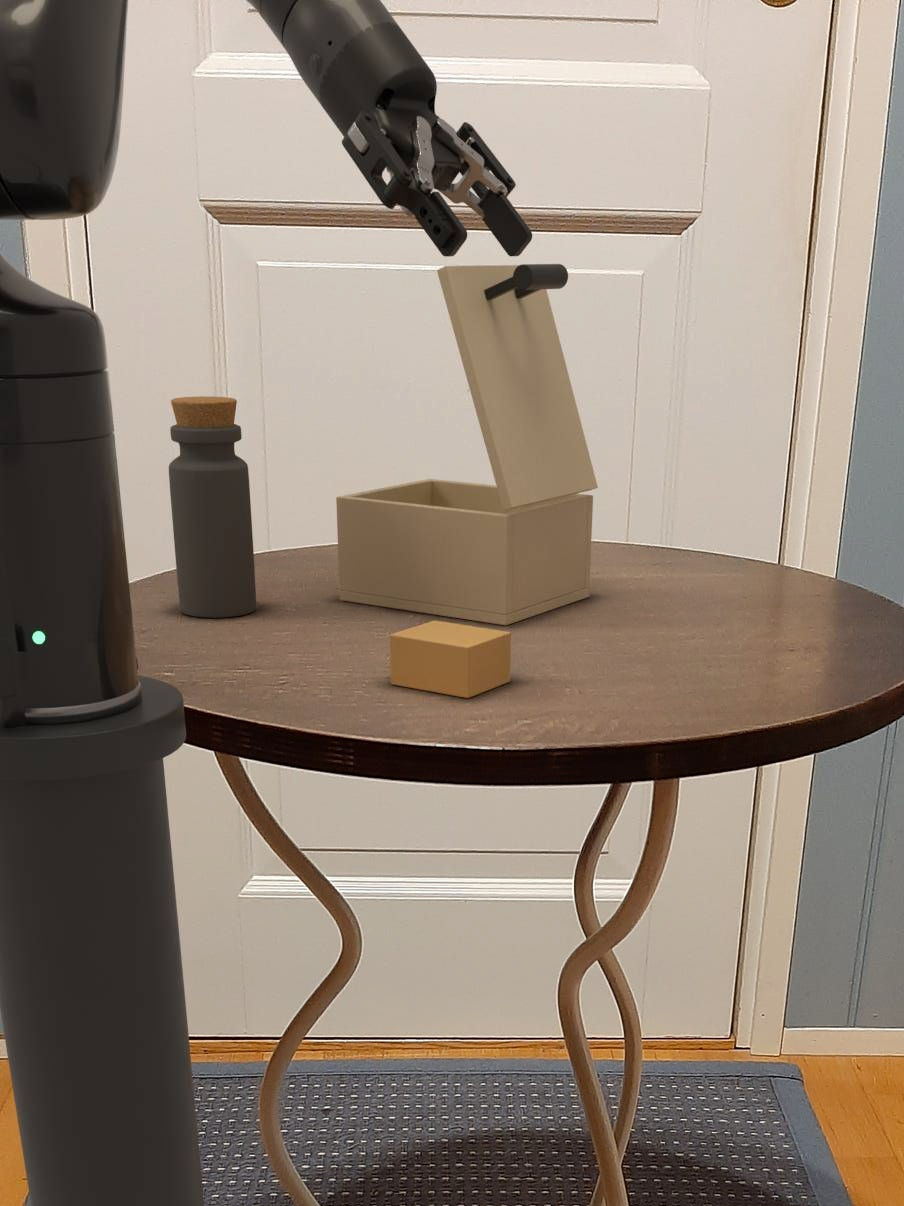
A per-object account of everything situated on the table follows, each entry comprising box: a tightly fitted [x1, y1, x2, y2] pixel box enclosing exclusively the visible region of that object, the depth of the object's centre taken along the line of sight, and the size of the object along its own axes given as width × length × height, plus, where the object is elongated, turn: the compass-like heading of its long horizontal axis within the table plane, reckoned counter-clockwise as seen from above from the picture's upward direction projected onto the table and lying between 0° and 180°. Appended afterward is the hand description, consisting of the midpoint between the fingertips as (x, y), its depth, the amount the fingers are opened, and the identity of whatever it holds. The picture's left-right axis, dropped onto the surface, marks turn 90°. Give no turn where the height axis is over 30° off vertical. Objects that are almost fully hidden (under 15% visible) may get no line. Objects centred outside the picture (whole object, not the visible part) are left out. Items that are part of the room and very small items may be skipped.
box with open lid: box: [335, 478, 594, 627], centre depth 119 cm, size 16×13×8 cm
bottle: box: [168, 396, 257, 619], centre depth 113 cm, size 6×6×15 cm
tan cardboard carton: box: [389, 620, 512, 699], centre depth 97 cm, size 6×5×3 cm
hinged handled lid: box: [436, 263, 598, 511], centre depth 110 cm, size 16×13×5 cm
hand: (491, 247), depth 108 cm, fingers open, 8 cm apart
